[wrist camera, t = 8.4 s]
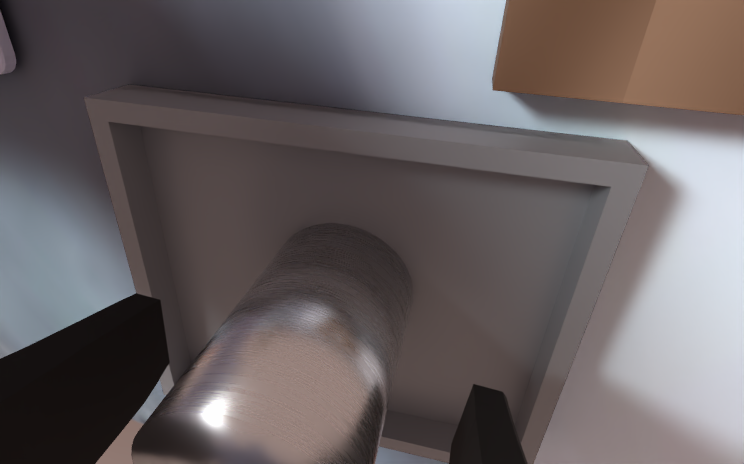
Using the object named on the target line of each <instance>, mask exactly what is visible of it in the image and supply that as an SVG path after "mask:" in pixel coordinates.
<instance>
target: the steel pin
mask: <svg viewBox="0 0 744 464" xmlns="http://www.w3.org/2000/svg"><path fill="white" fill-rule="evenodd" d="M412 303H413V285H412V280H411V277H410V274H409V271H408V269H407V267H406V265H405V264H404V262H403V261H402V259H401V258H400V256H399V255H398V254H397V253H396V252H395V251H394V250H393V249H392V248H391V247H390V246H389V245H388V244H387V243H386V242H384V241H383V240H381V239H380V238H378V237H377V236H375V235H373V234H372V233H370V232H368V231H365V230H363V229H360V228H358V227H354V226H350V225H345V224H339V223H325V224H317V225H313V226H310V227H307V228H304V229H302V230H300V231H298V232H297V233H295V234H294V235H293V236H291V237H290V238H289V239H288V240H287V241H286V242H285V243H284V245H283V246H282V247H281V249H280V250H279V251H278V252H277V254H276V255H275V256H274V258H273V259H272V260H271V261H270V263H269V264H268V265H267V267H266V268H265V269H264V270H263V272H262V273H261V274H260V276H259V277H258V278H257V279H256V281H255V282H254V283H253V285H252V286H251V287H250V288H249V290H248V291H247V292H246V294H245V295H244V296H243V297H242V299H241V300H240V301H239V303H238V304H237V305H236V306H235V308H234V309H233V310H232V312H231V313H230V314H229V315H228V317H227V318H226V319H225V321H224V322H223V323H222V324H221V326H220V327H219V328H218V330H217V331H216V332H215V333H214V335H213V336H212V337H211V339H210V340H209V341H208V342H207V344H206V345H205V346H204V348H203V349H202V350H201V351H200V353H199V354H198V355H197V357H196V358H195V359H194V360H193V362H192V363H191V364H190V366H189V367H188V368H187V369H186V371H185V372H184V373H183V375H182V376H181V377H180V378H179V380H178V381H177V382H176V384H175V385H174V386H173V388H172V389H171V390H170V391H169V393H168V394H167V395H166V397H165V398H164V399H163V400H162V402H161V403H160V404H159V406H158V407H157V408H156V409H155V411H154V412H153V413H152V415H151V416H150V417H149V418H148V420H147V421H146V422H145V424H144V425H143V426H142V428H141V429H140V430H139V431H138V433H137V434H136V436H135V438H134V441H133V444H132V460H133V464H375V460H376V456H377V452H378V447H379V443H380V439H381V435H382V430H383V426H384V422H385V418H386V413H387V409H388V405H389V401H390V396H391V392H392V388H393V384H394V379H395V375H396V371H397V367H398V362H399V358H400V354H401V350H402V345H403V341H404V337H405V333H406V328H407V324H408V320H409V316H410V311H411V307H412Z"/></svg>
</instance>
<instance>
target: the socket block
mask: <svg viewBox="0 0 744 464" xmlns="http://www.w3.org/2000/svg"><path fill="white" fill-rule="evenodd" d="M492 84H493V90H496V91H506V92H516V93H526V94H536V95H546V96H556V97H566V98H576V99H586V100H596V101H606V102H616V103H626V104H636V105H646V106H656V107H666V108H676V109H686V110H697V111H707V112H717V113H727V114H737V115H744V0H506V5H505V11H504V16H503V22H502V27H501V33H500V38H499V44H498V49H497V55H496V60H495V66H494V71H493V77H492Z"/></svg>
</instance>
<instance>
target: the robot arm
mask: <svg viewBox="0 0 744 464" xmlns="http://www.w3.org/2000/svg"><path fill="white" fill-rule="evenodd" d="M15 66H16V57H15V53H14V50H13V47H12V44H11V41H10V38H9V35H8V32H7V29H6V26H5V22H4V19H3V16H2V13H1V10H0V74H6V73H11V72H12V71H13V70H14V69H15ZM169 363H170V360H169V354H168V347H167V340H166V333H165V327H164V320H163V313H162V306H161V300H160V299H156V298H152V297H149V296H145V295H141V294H137V293H136V294H134V295H132V296H130V297H127V298H125V299H123V300H121V301H119V302H117V303H115V304H113V305H111V306H109V307H107V308H105V309H103V310H101V311H99V312H97V313H95V314H93V315H91V316H89V317H87V318H85V319H83V320H81V321H79V322H76V323H74V324H72V325H70V326H68V327H66V328H64V329H62V330H60V331H58V332H56V333H54V334H52V335H50V336H48V337H46V338H44V339H42V340H40V341H38V342H36V343H34V344H32V345H30V346H27V347H25V348H23V349H21V350H19V351H17V352H14V353H12V354H10V355H8V356H5V357H3V358H1V359H0V464H95V463H96V462H97V460H98V459H99V458H100V457H101V456H102V455H103V453H104V452H105V451H106V450H107V448H108V447H109V446H110V445H111V444H112V442H113V441H114V440H115V439H116V437H117V436H118V435H119V434H120V433H121V431H122V430H123V429H124V427H125V426H126V425H127V424H128V423H129V421H130V420H131V419H132V418H133V416H134V415H135V414H136V413H137V411H138V410H139V409H140V408H141V406H142V405H143V404H144V402H145V401H146V399H147V398H148V396H149V395H150V393H151V392H152V390H153V389H154V387H155V386H156V384H157V382H158V381H159V379H160V378H161V376H162V374H163V373H164V371H165V369H166V368H167V366H168V364H169ZM449 464H528V463H527V460H526V457H525V454H524V451H523V449H522V446H521V443H520V440H519V437H518V434H517V431H516V428H515V425H514V421H513V418H512V415H511V411H510V408H509V405H508V401H507V397H506V396H505V394H504V393H503V392H502V391H498V390H495V389H491V388H487V387H483V386H480V385H476V384H473V386H472V389H471V392H470V395H469V397H468V400H467V403H466V405H465V408H464V411H463V414H462V416H461V419H460V422H459V424H458V427H457V430H456V432H455V435H454V438H453V441H452V443H451V451H450V459H449Z"/></svg>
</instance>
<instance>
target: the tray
mask: <svg viewBox="0 0 744 464" xmlns="http://www.w3.org/2000/svg"><path fill="white" fill-rule="evenodd" d="M84 101H85V104H86V108H87V112H88V116H89V119H90V123H91V127H92V130H93V134H94V138H95V141H96V145H97V149H98V152H99V156H100V160H101V164H102V167H103V171H104V175H105V178H106V182H107V186H108V189H109V193H110V197H111V200H112V204H113V208H114V212H115V215H116V219H117V223H118V226H119V230H120V234H121V237H122V241H123V245H124V249H125V252H126V256H127V260H128V263H129V267H130V271H131V274H132V278H133V282H134V285H135V289H136V293H137V294H141V295H145V296H149V297H152V298H156V299H160V300H161V306H162V313H163V320H164V327H165V333H166V340H167V347H168V354H169V360H170V363H169V364H168V366H167V368H166V369H165V371H164V373H163V374H162V376H161V378H160V381H161V385H162V389H163V393H164V395H167V394H168V393H169V391H170V390H171V389H172V388H173V386H174V385H175V384H176V382H177V381H178V380H179V378H180V377H181V376H182V375H183V373H184V372H185V371H186V369H187V368H188V367H189V366H190V364H191V363H192V362H193V360H194V359H195V358H196V357H197V355H198V354H199V353H200V351H201V350H202V349H203V348H204V346H205V345H206V344H207V342H208V341H209V340H210V339H211V337H212V336H213V335H214V333H215V332H216V331H217V330H218V328H219V327H220V326H221V324H222V323H223V322H224V321H225V319H226V318H227V317H228V315H229V314H230V313H231V312H232V310H233V309H234V308H235V306H236V305H237V304H238V303H239V301H240V300H241V299H242V297H243V296H244V295H245V294H246V292H247V291H248V290H249V288H250V287H251V286H252V285H253V283H254V282H255V281H256V279H257V278H258V277H259V276H260V274H261V273H262V272H263V270H264V269H265V268H266V267H267V265H268V264H269V263H270V261H271V260H272V259H273V258H274V256H275V255H276V254H277V252H278V251H279V250H280V249H281V247H282V246H283V245H284V243H285V242H286V241H287V240H288V239H289V238H290V237H291V236H293V235H294V234H295V233H297V232H298V231H300V230H302V229H304V228H307V227H310V226H313V225H317V224H325V223H339V224H345V225H350V226H354V227H358V228H360V229H363V230H365V231H368V232H370V233H372V234H373V235H375V236H377V237H378V238H380V239H381V240H383V241H384V242H386V243H387V244H388V245H389V246H390V247H391V248H392V249H393V250H394V251H395V252H396V253H397V254H398V255H399V256H400V258H401V259H402V261H403V262H404V264H405V265H406V267H407V269H408V271H409V274H410V277H411V280H412V285H413V303H412V307H411V311H410V316H409V320H408V324H407V328H406V333H405V337H404V341H403V345H402V350H401V354H400V358H399V362H398V367H397V371H396V375H395V379H394V384H393V388H392V392H391V396H390V401H389V405H388V409H387V413H386V418H385V422H384V426H383V430H382V435H381V439H380V443H379V446H380V447H384V448H389V449H393V450H397V451H401V452H405V453H409V454H414V455H418V456H422V457H426V458H430V459H434V460H439V461H443V462H447V463H449V459H450V451H451V443H452V441H453V438H454V435H455V432H456V430H457V427H458V424H459V422H460V419H461V416H462V414H463V411H464V408H465V405H466V403H467V400H468V397H469V395H470V392H471V389H472V386H473V384H476V385H480V386H483V387H487V388H491V389H495V390H498V391H502V392H503V393H504V394H505V396H506V397H507V401H508V405H509V408H510V411H511V415H512V418H513V421H514V425H515V428H516V431H517V434H518V437H519V440H520V443H521V446H522V449H523V451H524V454H525V457H526V460H527V463H528V464H533V463H534V460H535V458H536V455H537V453H538V450H539V447H540V445H541V442H542V440H543V437H544V435H545V432H546V429H547V427H548V424H549V422H550V419H551V417H552V414H553V411H554V409H555V406H556V404H557V401H558V399H559V396H560V393H561V391H562V388H563V386H564V383H565V381H566V378H567V375H568V373H569V370H570V368H571V365H572V363H573V360H574V357H575V355H576V352H577V350H578V347H579V345H580V342H581V339H582V337H583V334H584V332H585V329H586V327H587V324H588V321H589V319H590V316H591V314H592V311H593V309H594V306H595V303H596V301H597V298H598V296H599V293H600V291H601V288H602V285H603V283H604V280H605V278H606V275H607V273H608V270H609V267H610V265H611V262H612V260H613V257H614V255H615V252H616V249H617V247H618V244H619V242H620V239H621V237H622V234H623V231H624V229H625V226H626V224H627V221H628V219H629V216H630V213H631V211H632V208H633V206H634V203H635V201H636V198H637V195H638V193H639V190H640V188H641V185H642V183H643V180H644V177H645V175H646V172H647V170H648V167H649V165H648V164H647V163H646V162H645V161H644V160H643V158H642V157H641V156H640V155H639V154H638V153H637V151H636V150H635V149H634V148H633V147H632V146H631V144H630V143H629V142H628V141H625V140H616V139H607V138H598V137H590V136H581V135H572V134H563V133H554V132H545V131H536V130H528V129H519V128H510V127H501V126H492V125H483V124H474V123H466V122H457V121H448V120H439V119H430V118H421V117H412V116H404V115H395V114H386V113H377V112H368V111H359V110H350V109H341V108H333V107H324V106H315V105H306V104H297V103H288V102H279V101H271V100H262V99H253V98H244V97H235V96H226V95H217V94H209V93H200V92H191V91H182V90H173V89H164V88H155V87H147V86H138V85H129V84H128V85H125V86H122V87H118V88H115V89H111V90H108V91H104V92H101V93H98V94H94V95H91V96H87V97H84Z"/></svg>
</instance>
